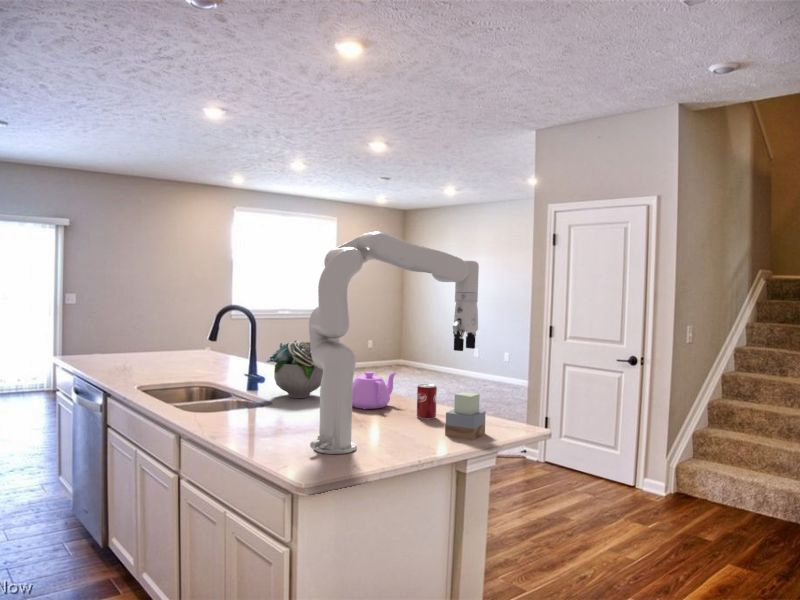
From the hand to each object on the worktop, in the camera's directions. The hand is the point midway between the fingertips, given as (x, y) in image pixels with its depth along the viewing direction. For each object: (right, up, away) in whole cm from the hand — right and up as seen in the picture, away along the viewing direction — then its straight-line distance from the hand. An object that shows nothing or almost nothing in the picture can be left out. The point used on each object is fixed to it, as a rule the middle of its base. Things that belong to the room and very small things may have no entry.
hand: (464, 349), depth 193 cm
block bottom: (0, -29, +1) cm, 29 cm away
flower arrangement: (-65, -25, +57) cm, 90 cm away
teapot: (-32, -27, +42) cm, 59 cm away
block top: (0, -25, 0) cm, 25 cm away
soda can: (-12, -28, +24) cm, 38 cm away
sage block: (+1, -21, 0) cm, 21 cm away
